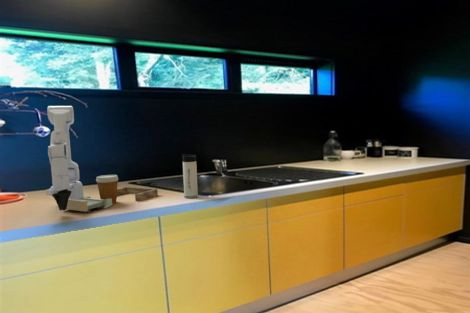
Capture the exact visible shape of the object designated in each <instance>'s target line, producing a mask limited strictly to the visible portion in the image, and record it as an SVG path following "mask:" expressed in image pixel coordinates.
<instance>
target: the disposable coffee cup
mask: <svg viewBox="0 0 470 313" xmlns="http://www.w3.org/2000/svg"><path fill="white" fill-rule="evenodd" d="M95 181H96V183H97V189H98V193H99V199H103V200H105V199H109V198H112V205H113V204H116V203H117V196H118V195H117V189H118V182H119V177H118V175H117V174H105V175H99V176H96V179H95Z"/></svg>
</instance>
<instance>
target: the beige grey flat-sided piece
mask: <svg viewBox="0 0 470 313" xmlns="http://www.w3.org/2000/svg"><path fill="white" fill-rule="evenodd" d="M112 206H113V204H112V198H109V199H105V200H103V199H100V198H93V197H91V196H89V195H88V196H84V197H83V198H81V199H80V200H74V199H68V203H67V208H66V210H71V211H78V212H85V213H90V212H91V210H92V209H95V208H97V209H99V210H101V209H103V208H108V207H112Z"/></svg>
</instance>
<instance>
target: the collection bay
mask: <svg viewBox="0 0 470 313" xmlns="http://www.w3.org/2000/svg"><path fill="white" fill-rule="evenodd" d="M124 194H134V196H135V200H134V201H135V202H140V201H143V200H147V199H150V198H153V197H157V196H159V193H158V189H157V188H148V187H147V188H146V187H137V186H136V187H133V186H124V187H119V188H117V196H120V195H121V196H122V195H124Z"/></svg>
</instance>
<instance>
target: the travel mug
mask: <svg viewBox="0 0 470 313" xmlns="http://www.w3.org/2000/svg"><path fill="white" fill-rule="evenodd" d="M197 168H198V167H197V155H196V154H189V153H188V154H187V153H182V175H183V176H182V177H183V197H184V199H195V197H196V198H198V197H197V196H199V194H198V193H199V192H198V170H197Z"/></svg>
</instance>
